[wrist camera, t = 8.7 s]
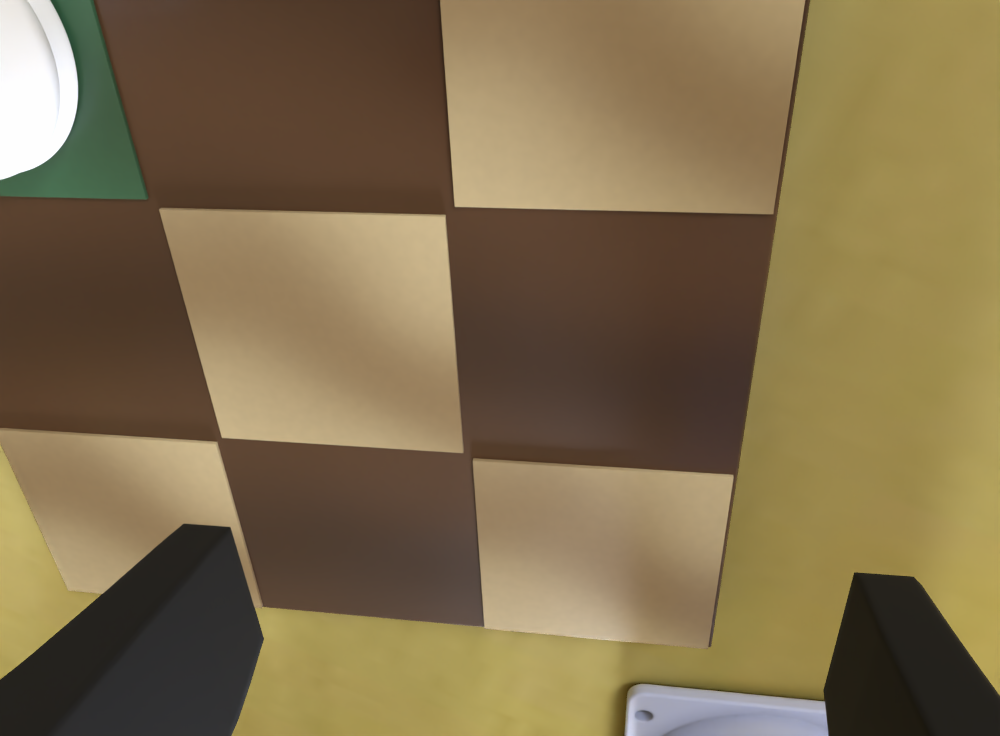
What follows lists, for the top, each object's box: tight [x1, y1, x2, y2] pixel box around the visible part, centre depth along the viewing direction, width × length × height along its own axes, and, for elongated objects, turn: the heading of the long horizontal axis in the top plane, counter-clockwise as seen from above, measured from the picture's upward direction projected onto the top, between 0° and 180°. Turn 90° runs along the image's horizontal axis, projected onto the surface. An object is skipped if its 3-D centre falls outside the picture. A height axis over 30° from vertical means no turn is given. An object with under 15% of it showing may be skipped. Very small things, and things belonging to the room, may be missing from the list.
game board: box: [0, 0, 810, 649], centre depth 19 cm, size 18×18×1 cm
